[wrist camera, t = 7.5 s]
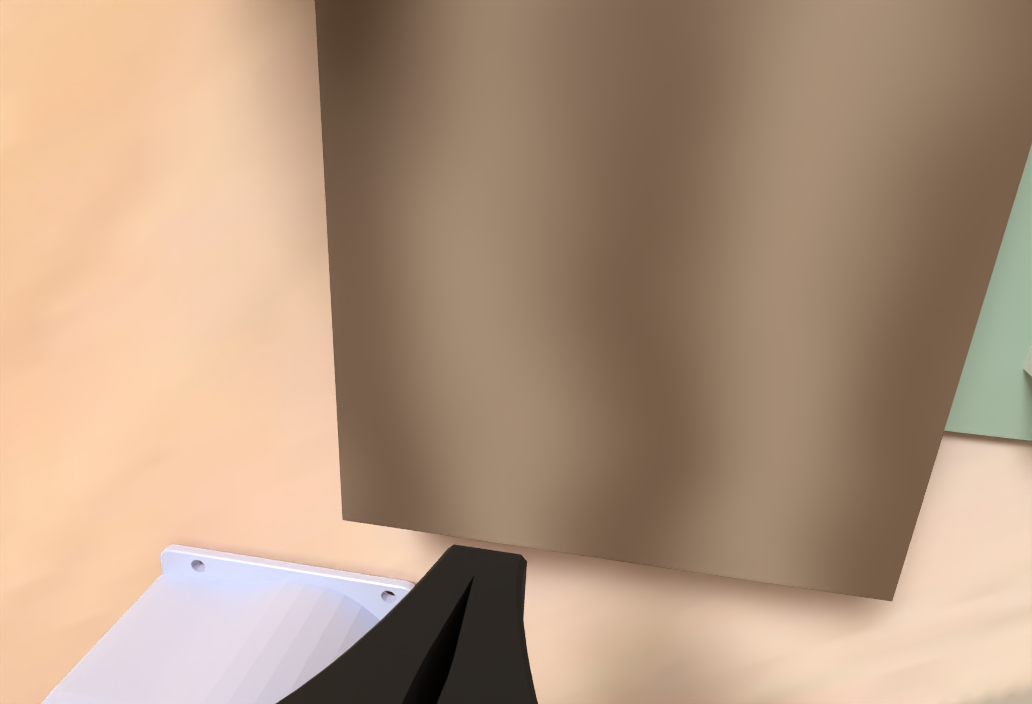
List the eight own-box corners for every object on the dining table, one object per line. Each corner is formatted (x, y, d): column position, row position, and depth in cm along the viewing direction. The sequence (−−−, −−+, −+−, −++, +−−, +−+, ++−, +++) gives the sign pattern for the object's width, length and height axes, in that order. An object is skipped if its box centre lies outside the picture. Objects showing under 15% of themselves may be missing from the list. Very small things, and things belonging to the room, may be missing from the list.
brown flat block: (391, 447, 24) (342, 520, 20) (378, -147, 17) (304, -199, 14) (852, 508, 22) (891, 601, 18) (1022, -139, 15) (1135, -197, 12)
